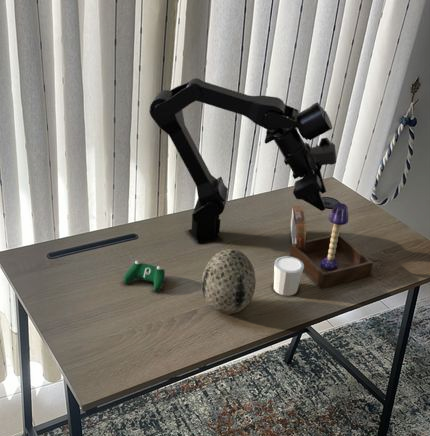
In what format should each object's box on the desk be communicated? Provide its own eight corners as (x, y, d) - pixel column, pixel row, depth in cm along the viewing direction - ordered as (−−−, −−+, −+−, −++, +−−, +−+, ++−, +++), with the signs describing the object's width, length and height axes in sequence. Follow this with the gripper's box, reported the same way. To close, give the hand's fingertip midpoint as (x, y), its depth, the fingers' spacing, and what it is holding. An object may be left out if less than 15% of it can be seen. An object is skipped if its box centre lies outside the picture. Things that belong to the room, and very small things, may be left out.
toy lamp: (316, 260, 169) (327, 201, 159) (333, 258, 170) (345, 199, 160) (325, 271, 165) (336, 211, 155) (342, 269, 166) (354, 209, 156)
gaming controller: (162, 294, 157) (170, 270, 157) (158, 291, 153) (165, 266, 154) (126, 285, 159) (133, 261, 159) (121, 281, 155) (129, 257, 156)
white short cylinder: (280, 300, 155) (284, 275, 151) (265, 284, 160) (268, 259, 156) (305, 293, 158) (310, 268, 154) (289, 277, 162) (293, 253, 158)
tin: (304, 258, 170) (309, 229, 165) (291, 257, 169) (296, 228, 164) (299, 227, 182) (303, 200, 177) (287, 226, 182) (292, 199, 177)
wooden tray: (321, 288, 160) (323, 274, 158) (289, 257, 170) (291, 243, 168) (369, 275, 165) (373, 262, 163) (336, 246, 176) (339, 233, 173)
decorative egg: (192, 298, 153) (195, 242, 144) (239, 289, 157) (245, 234, 148) (211, 329, 145) (216, 271, 136) (260, 319, 149) (268, 262, 140)
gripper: (323, 148, 147) (355, 205, 154) (324, 117, 162) (353, 170, 169) (279, 171, 152) (311, 225, 159) (284, 138, 167) (313, 189, 173)
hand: (324, 201), depth 165 cm, fingers open, 9 cm apart
